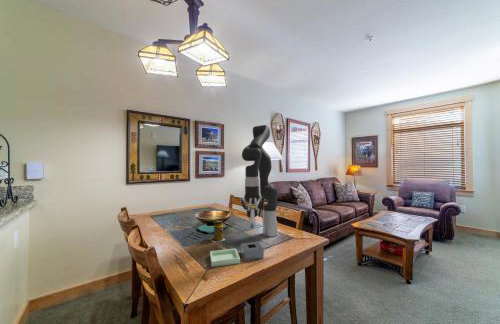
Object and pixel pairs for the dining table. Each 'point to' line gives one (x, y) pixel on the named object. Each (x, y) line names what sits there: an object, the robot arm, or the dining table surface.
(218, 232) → the condiment
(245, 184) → the robot arm
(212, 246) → the dining table surface
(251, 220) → the pin
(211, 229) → the cutlery set
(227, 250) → the tray
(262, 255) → the socket block
